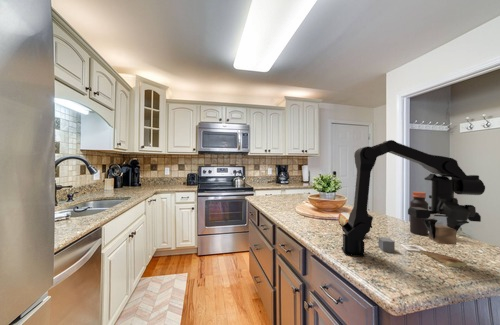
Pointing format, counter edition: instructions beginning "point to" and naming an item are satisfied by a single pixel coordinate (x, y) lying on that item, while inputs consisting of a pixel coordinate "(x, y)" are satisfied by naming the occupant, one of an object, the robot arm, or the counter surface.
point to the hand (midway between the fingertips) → (441, 238)
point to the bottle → (417, 223)
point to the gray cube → (386, 244)
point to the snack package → (343, 218)
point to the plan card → (412, 248)
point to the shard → (444, 259)
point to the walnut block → (444, 235)
